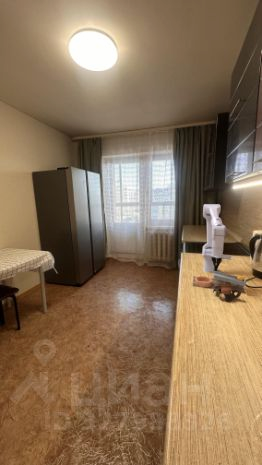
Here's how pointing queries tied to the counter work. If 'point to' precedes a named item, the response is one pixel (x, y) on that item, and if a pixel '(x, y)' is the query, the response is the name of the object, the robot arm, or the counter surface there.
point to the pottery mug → (227, 292)
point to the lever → (228, 278)
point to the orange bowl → (203, 281)
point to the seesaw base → (219, 282)
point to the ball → (240, 278)
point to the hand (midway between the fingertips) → (215, 270)
